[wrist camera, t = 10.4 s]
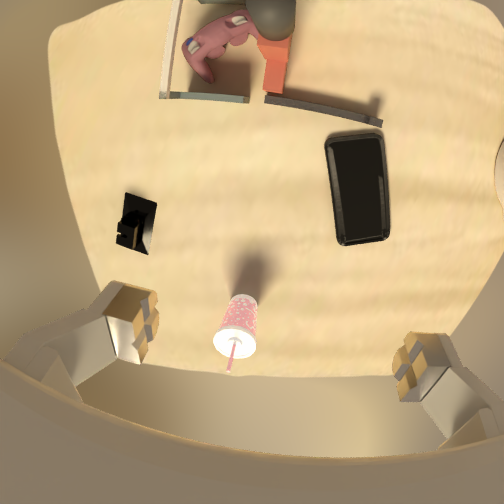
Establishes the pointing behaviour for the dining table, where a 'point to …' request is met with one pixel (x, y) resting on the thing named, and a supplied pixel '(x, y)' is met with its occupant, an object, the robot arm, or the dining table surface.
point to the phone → (358, 188)
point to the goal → (169, 58)
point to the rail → (323, 110)
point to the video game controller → (217, 40)
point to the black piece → (136, 223)
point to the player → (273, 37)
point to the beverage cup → (238, 329)
